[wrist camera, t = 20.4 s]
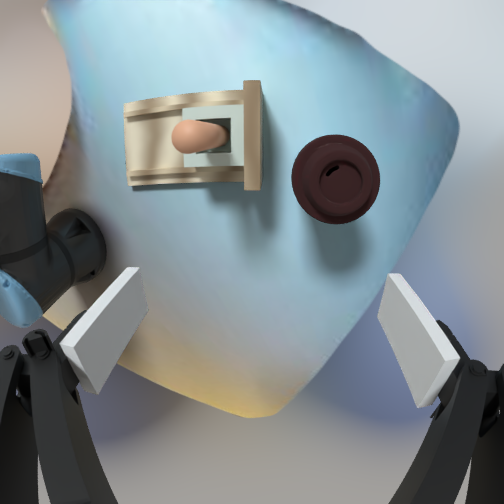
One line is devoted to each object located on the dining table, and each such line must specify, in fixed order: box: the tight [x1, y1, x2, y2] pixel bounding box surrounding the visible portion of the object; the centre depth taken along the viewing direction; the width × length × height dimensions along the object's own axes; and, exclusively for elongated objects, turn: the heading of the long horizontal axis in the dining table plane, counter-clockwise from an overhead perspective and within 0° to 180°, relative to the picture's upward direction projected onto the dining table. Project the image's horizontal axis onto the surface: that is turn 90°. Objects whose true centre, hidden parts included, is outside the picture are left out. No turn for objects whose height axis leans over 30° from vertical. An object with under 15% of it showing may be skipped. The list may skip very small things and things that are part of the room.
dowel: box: [171, 120, 230, 154], centre depth 30 cm, size 3×3×15 cm
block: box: [182, 104, 244, 167], centre depth 36 cm, size 8×8×6 cm
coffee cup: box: [291, 135, 380, 224], centre depth 34 cm, size 10×10×15 cm
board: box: [124, 80, 262, 190], centre depth 36 cm, size 22×14×8 cm, turn 90°
